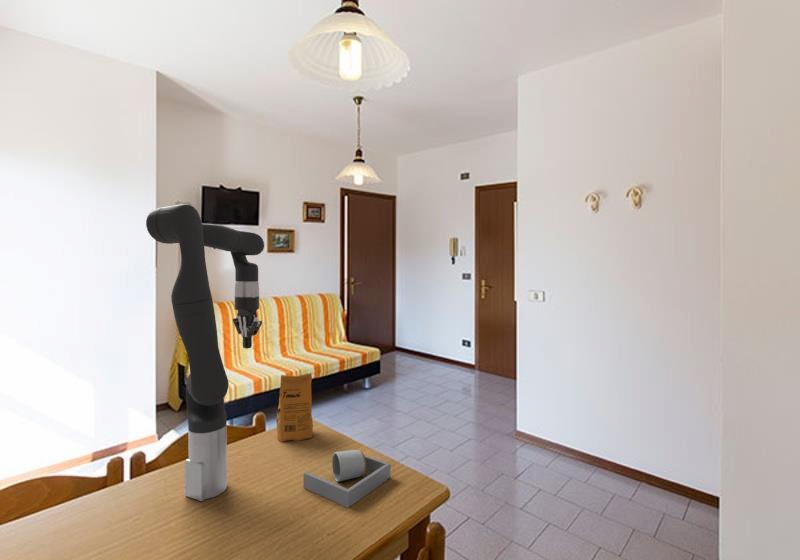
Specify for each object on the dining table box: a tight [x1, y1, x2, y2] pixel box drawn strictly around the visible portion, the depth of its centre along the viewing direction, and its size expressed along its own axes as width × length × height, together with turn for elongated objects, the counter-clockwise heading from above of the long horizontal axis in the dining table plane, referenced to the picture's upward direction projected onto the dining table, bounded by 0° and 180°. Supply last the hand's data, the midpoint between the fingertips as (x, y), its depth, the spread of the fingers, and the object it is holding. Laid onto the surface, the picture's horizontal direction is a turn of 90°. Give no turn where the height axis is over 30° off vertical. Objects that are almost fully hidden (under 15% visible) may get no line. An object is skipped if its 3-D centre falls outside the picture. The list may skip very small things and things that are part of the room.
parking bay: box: [303, 448, 392, 509], centre depth 114 cm, size 18×16×4 cm
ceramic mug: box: [331, 449, 366, 483], centre depth 118 cm, size 11×8×8 cm
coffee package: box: [276, 372, 314, 443], centre depth 145 cm, size 10×12×22 cm
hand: (247, 347), depth 134 cm, fingers closed
